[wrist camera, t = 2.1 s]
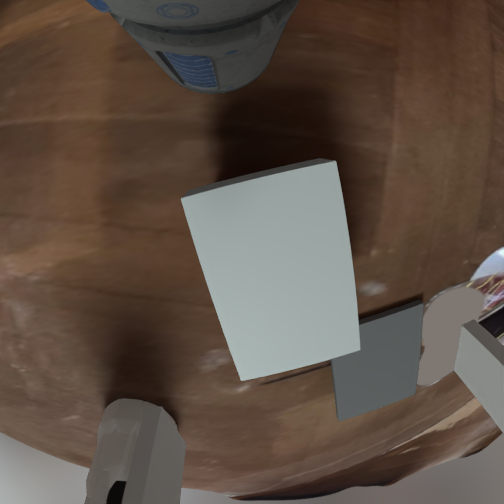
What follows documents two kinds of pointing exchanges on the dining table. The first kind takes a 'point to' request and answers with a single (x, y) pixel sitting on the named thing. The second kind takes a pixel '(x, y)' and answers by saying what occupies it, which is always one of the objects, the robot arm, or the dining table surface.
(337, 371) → the mat
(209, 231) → the board
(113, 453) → the white ridged column
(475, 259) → the dining table surface
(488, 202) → the dining table surface
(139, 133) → the dining table surface
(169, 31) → the beverage bottle
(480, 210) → the dining table surface
